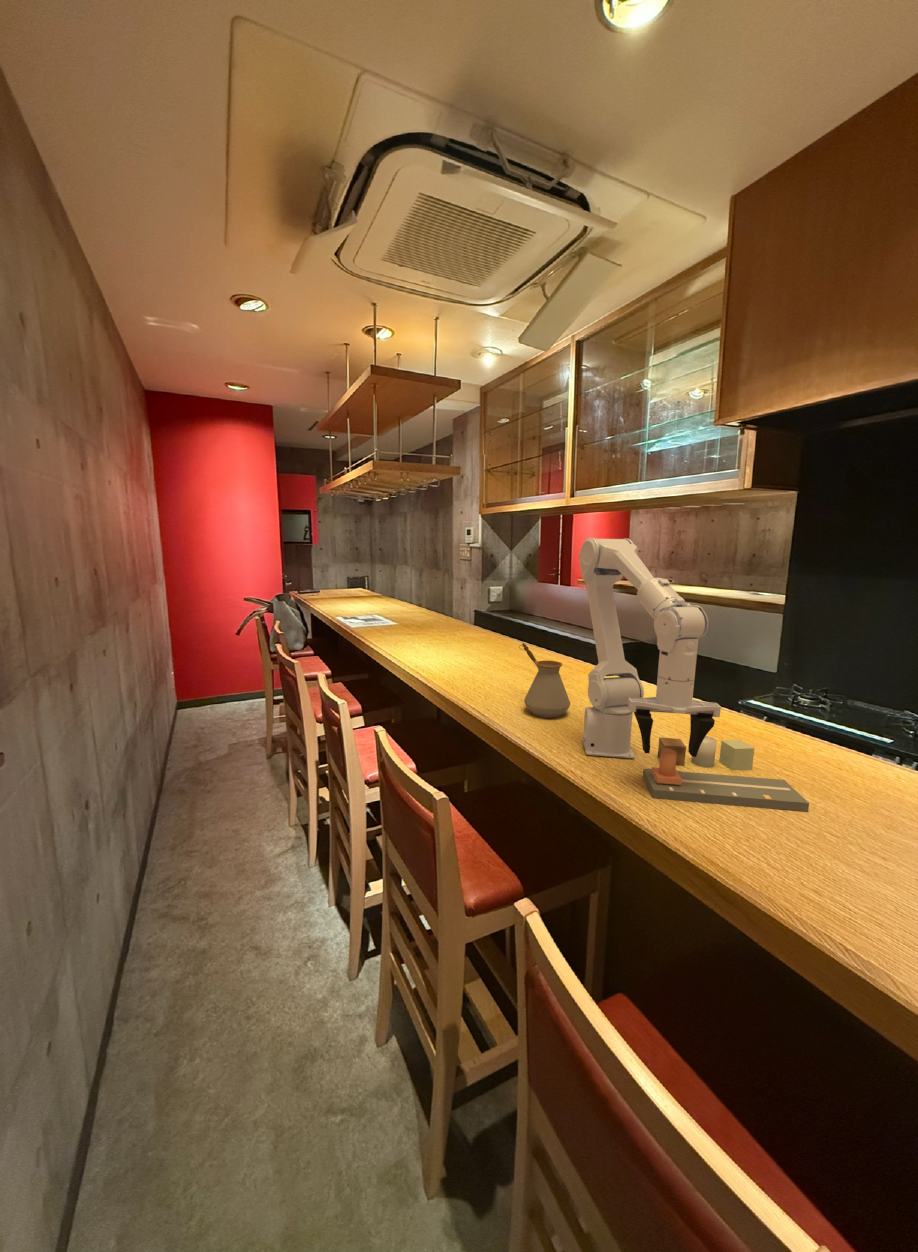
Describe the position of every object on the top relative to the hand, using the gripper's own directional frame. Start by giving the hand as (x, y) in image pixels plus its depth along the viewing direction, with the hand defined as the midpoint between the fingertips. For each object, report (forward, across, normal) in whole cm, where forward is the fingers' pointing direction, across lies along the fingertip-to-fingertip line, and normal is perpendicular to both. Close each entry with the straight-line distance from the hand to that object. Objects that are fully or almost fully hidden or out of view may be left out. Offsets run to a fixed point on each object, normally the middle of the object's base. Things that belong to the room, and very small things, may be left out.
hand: (668, 752), depth 85 cm
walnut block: (+7, +4, +12) cm, 14 cm away
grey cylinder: (+7, +10, +12) cm, 17 cm away
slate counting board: (+7, +9, 0) cm, 11 cm away
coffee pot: (+7, -22, +40) cm, 46 cm away
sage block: (+7, +16, +12) cm, 21 cm away
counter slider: (+5, 0, 0) cm, 5 cm away
